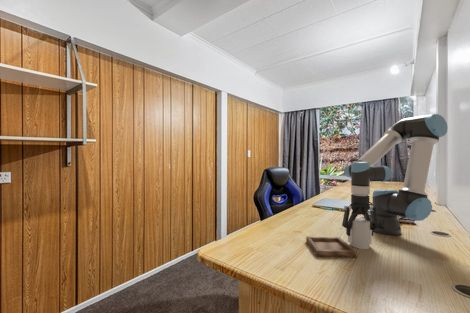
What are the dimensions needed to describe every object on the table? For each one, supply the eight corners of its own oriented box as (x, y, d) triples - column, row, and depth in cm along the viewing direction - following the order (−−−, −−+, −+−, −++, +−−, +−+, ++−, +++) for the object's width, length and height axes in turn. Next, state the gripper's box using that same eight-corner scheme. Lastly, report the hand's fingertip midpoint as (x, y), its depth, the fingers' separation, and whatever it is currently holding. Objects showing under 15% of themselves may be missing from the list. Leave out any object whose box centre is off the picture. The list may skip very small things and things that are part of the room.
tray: (339, 242, 108) (339, 237, 108) (356, 257, 92) (356, 251, 92) (306, 241, 108) (306, 236, 108) (317, 256, 92) (317, 250, 92)
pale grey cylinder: (372, 249, 100) (372, 223, 99) (353, 248, 101) (353, 222, 101) (365, 242, 108) (366, 218, 107) (347, 241, 109) (347, 217, 109)
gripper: (378, 193, 107) (377, 240, 108) (334, 192, 108) (333, 239, 109) (388, 196, 100) (387, 246, 100) (340, 195, 101) (340, 245, 101)
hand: (359, 242), depth 104 cm, fingers closed on pale grey cylinder, 8 cm apart
